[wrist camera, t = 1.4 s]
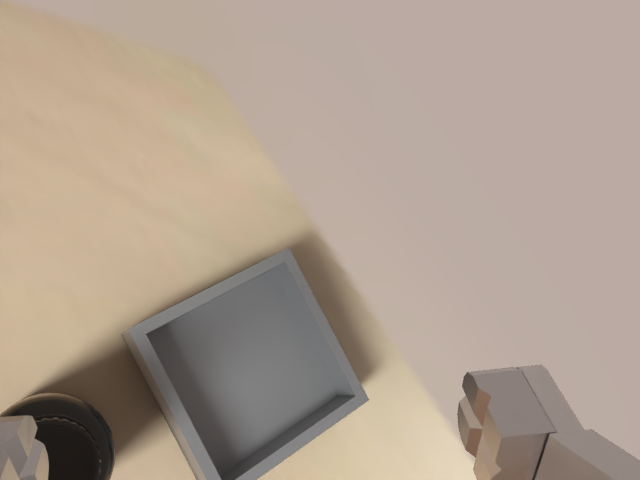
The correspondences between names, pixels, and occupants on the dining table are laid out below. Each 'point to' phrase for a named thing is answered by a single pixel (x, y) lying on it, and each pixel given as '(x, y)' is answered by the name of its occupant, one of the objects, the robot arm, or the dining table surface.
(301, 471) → the dining table surface
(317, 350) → the tray
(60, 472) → the supplement bottle
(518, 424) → the robot arm
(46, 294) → the dining table surface
